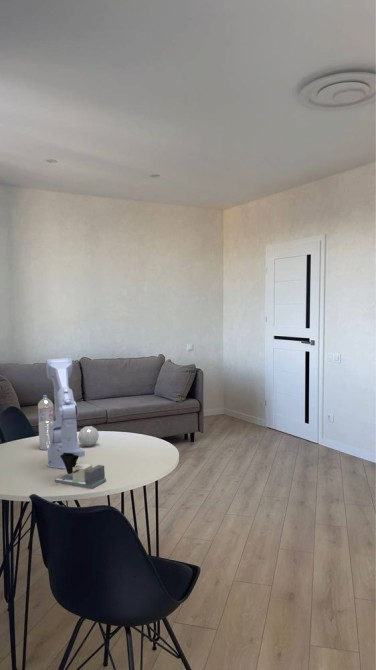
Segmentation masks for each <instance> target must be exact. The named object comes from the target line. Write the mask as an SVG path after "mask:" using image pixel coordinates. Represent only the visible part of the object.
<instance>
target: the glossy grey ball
mask: <svg viewBox="0 0 376 670" xmlns="http://www.w3.org/2000/svg"><path fill="white" fill-rule="evenodd" d="M99 437H100V434H99V431H98V429H97V428H95V427H94V426H93V425H89V426H88V425H87V426H84V427H83V428H80V430H79V433H78V435H77V440H78V441H79V443H80V445H83V446H84V447H85V448H86V447H93V446H95V445H96V444H97V443H98V442H99V441H98V440H99Z"/></svg>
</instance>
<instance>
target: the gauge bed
mask: <svg viewBox="0 0 376 670" xmlns="http://www.w3.org/2000/svg"><path fill="white" fill-rule="evenodd" d="M55 482H56V483H55ZM106 482H107V478H106V477H105V478H104V479H102V480H100V481H98V482H96V483H95V484H93V485H86V484H85V482H82V481H75V480H73V473H71V474H68V473H66V474H64V475H62V476H60V477H57V478H55V479H54V483H55V484H59V483H61V485H67V486H72V487H74V486H75V487H78V488H83V489H84V488H85V489H92V490H93V489H95V488H96V487H98V486H101V485H102V484H104V483H106Z"/></svg>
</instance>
